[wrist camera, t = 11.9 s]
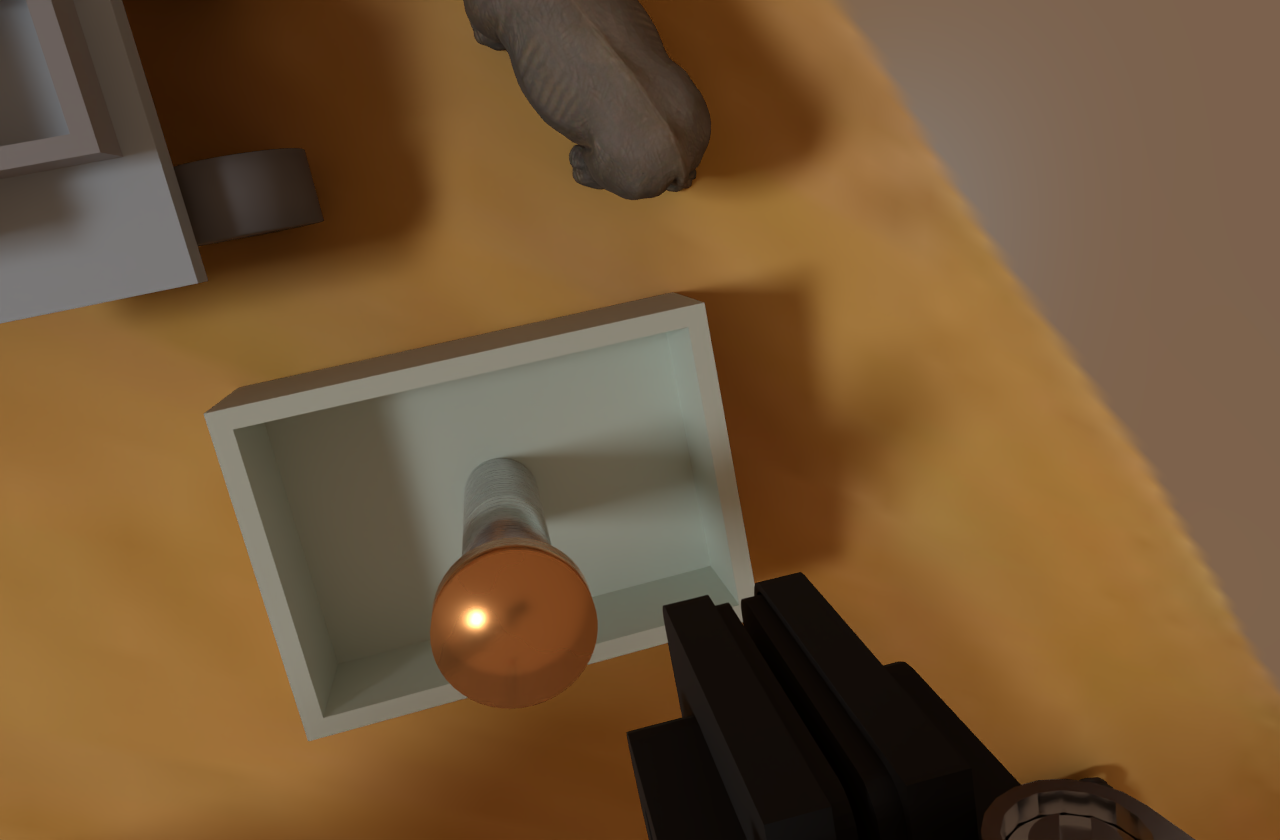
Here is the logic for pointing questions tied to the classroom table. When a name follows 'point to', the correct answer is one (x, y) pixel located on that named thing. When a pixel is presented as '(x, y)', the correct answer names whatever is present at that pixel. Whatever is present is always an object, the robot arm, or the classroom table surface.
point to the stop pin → (510, 598)
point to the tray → (435, 483)
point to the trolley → (111, 170)
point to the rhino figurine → (603, 89)
